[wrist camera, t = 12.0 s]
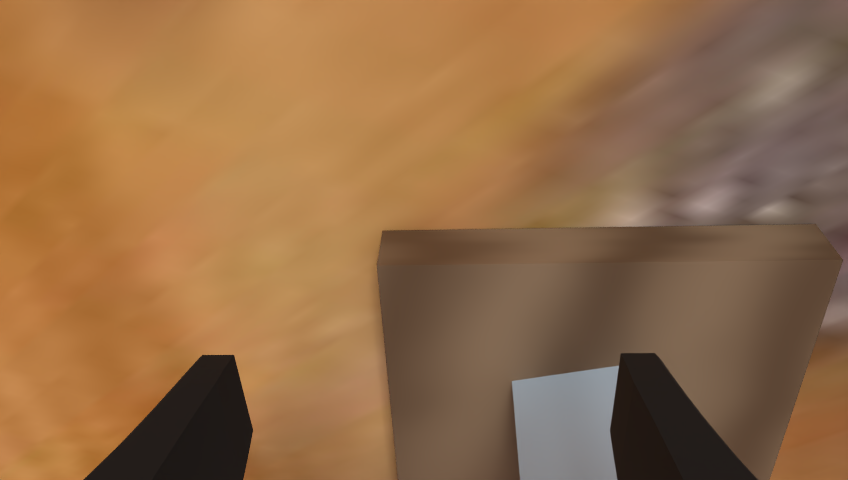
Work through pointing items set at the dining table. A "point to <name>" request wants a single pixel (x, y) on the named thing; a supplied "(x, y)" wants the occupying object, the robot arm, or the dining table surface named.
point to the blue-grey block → (566, 425)
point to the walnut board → (594, 328)
